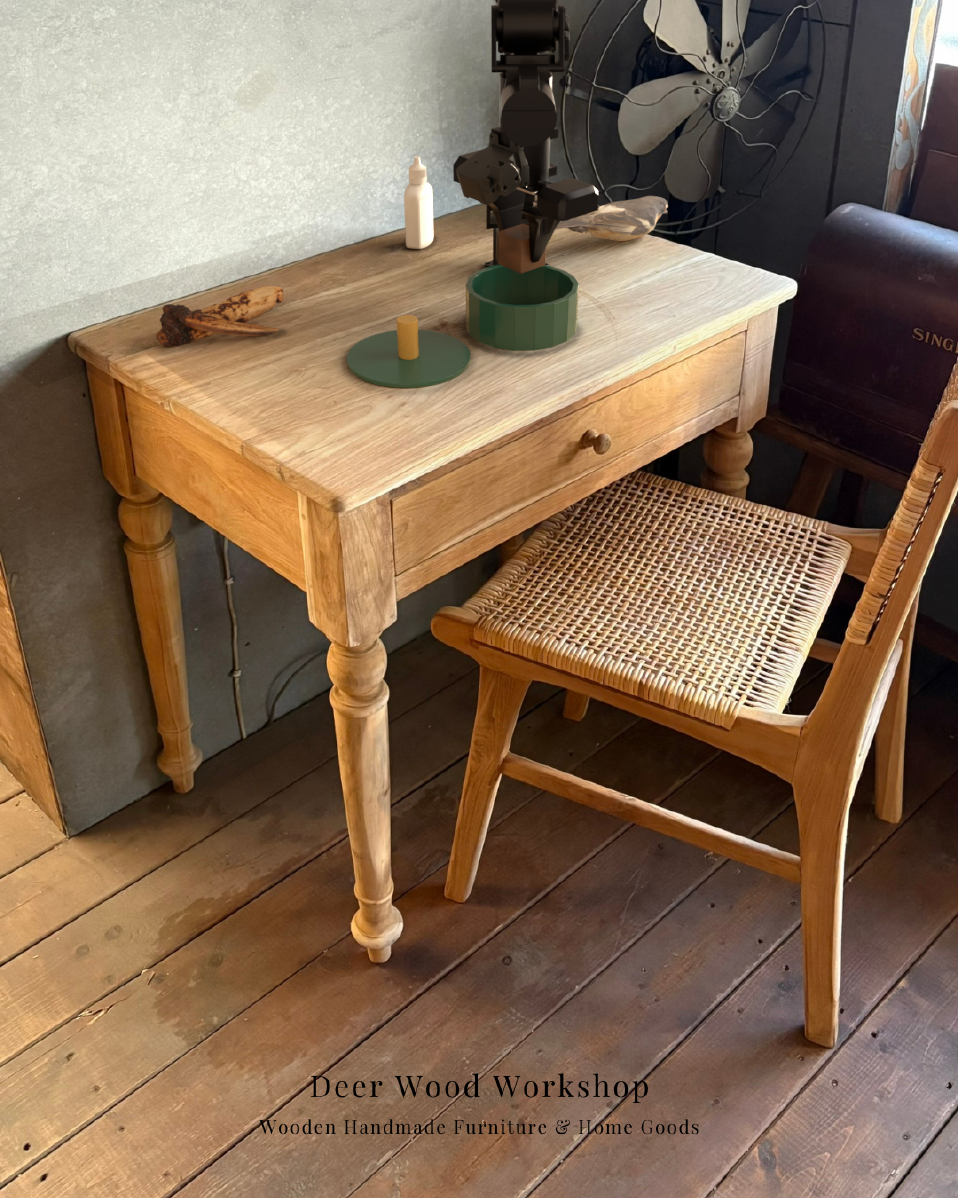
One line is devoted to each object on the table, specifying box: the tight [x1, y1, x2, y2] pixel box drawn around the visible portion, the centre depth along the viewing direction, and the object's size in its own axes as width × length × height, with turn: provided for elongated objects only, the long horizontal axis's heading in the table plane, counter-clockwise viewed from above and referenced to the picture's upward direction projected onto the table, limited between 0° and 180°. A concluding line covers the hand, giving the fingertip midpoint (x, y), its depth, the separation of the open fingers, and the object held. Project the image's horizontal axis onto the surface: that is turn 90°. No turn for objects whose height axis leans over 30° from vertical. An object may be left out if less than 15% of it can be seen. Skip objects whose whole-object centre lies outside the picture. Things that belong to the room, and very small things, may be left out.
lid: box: [346, 314, 471, 389], centre depth 137 cm, size 14×14×6 cm
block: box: [498, 223, 547, 274], centre depth 140 cm, size 4×4×4 cm
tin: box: [465, 265, 580, 352], centre depth 144 cm, size 13×14×6 cm
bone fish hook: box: [155, 285, 285, 347], centre depth 144 cm, size 9×5×18 cm
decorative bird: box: [555, 195, 669, 242], centre depth 167 cm, size 6×25×5 cm, turn 127°
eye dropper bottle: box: [403, 155, 435, 250], centre depth 166 cm, size 4×6×12 cm
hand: (522, 256), depth 141 cm, fingers closed on block, 4 cm apart
